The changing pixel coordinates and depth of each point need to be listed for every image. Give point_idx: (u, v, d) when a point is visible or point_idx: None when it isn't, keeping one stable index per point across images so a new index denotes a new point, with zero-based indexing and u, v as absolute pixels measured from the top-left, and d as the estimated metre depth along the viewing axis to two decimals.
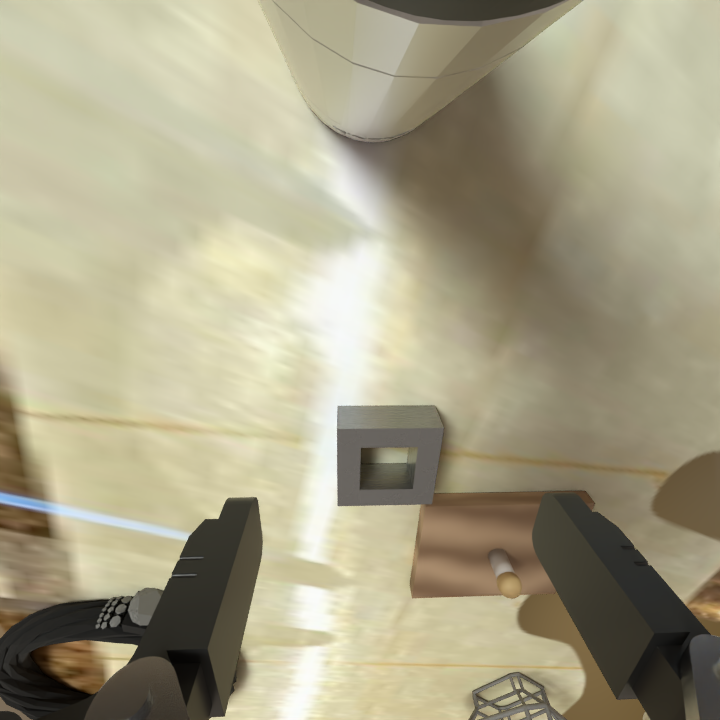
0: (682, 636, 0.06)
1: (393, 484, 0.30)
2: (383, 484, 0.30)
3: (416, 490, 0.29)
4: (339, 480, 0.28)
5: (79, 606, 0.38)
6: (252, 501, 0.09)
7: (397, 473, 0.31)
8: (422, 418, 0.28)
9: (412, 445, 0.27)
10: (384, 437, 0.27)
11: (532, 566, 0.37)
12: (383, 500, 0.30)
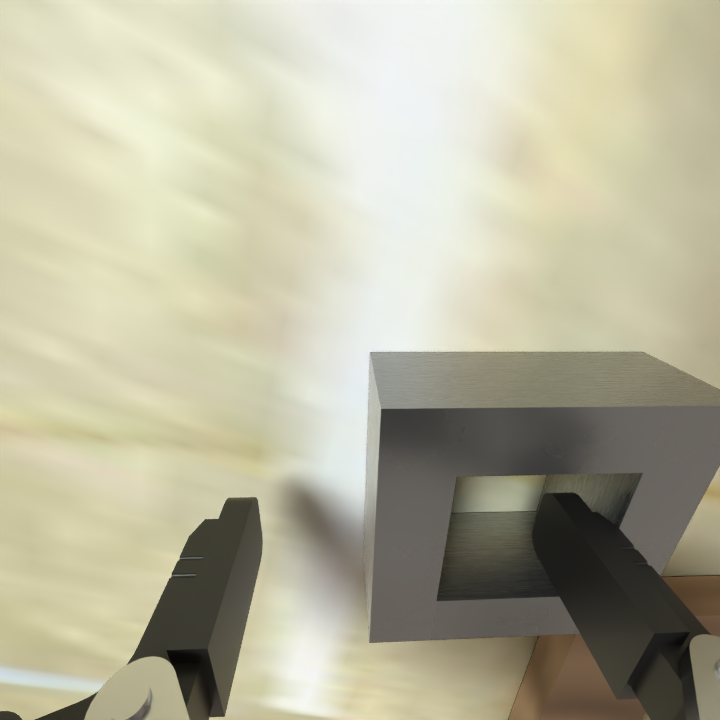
0: (683, 635, 0.06)
1: (528, 581, 0.10)
2: (499, 580, 0.10)
3: None
4: (378, 577, 0.09)
5: None
6: (252, 501, 0.09)
7: (524, 540, 0.12)
8: (645, 381, 0.09)
9: (627, 467, 0.08)
10: (541, 440, 0.08)
11: None
12: (500, 626, 0.10)
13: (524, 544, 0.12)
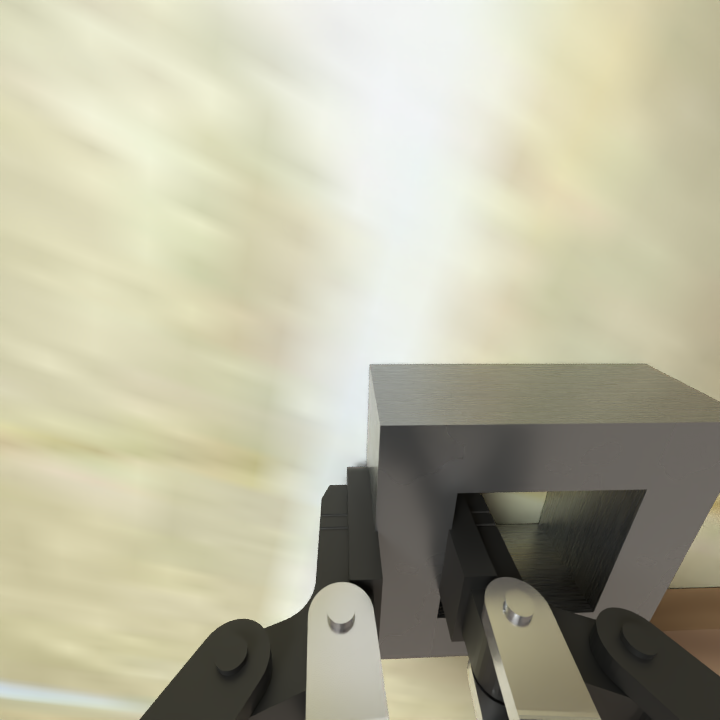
0: (491, 579, 0.07)
1: None
2: None
3: None
4: None
5: None
6: None
7: (525, 554, 0.11)
8: (649, 395, 0.08)
9: (631, 484, 0.08)
10: (544, 456, 0.08)
11: None
12: None
13: (526, 558, 0.11)
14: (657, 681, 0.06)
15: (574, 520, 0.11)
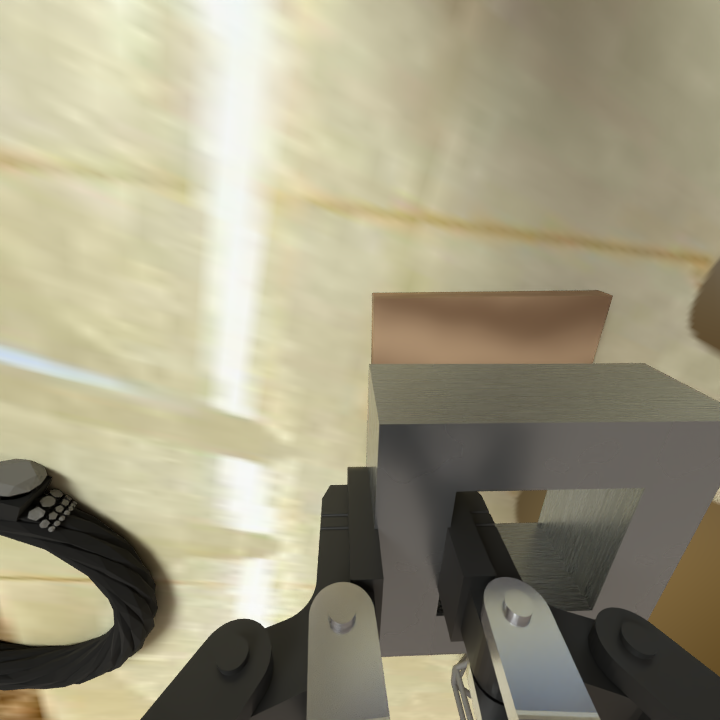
0: (490, 579, 0.07)
1: None
2: None
3: None
4: None
5: None
6: None
7: (525, 553, 0.12)
8: (647, 394, 0.09)
9: (628, 482, 0.08)
10: (542, 455, 0.08)
11: None
12: None
13: (525, 557, 0.11)
14: (656, 681, 0.06)
15: (573, 519, 0.11)
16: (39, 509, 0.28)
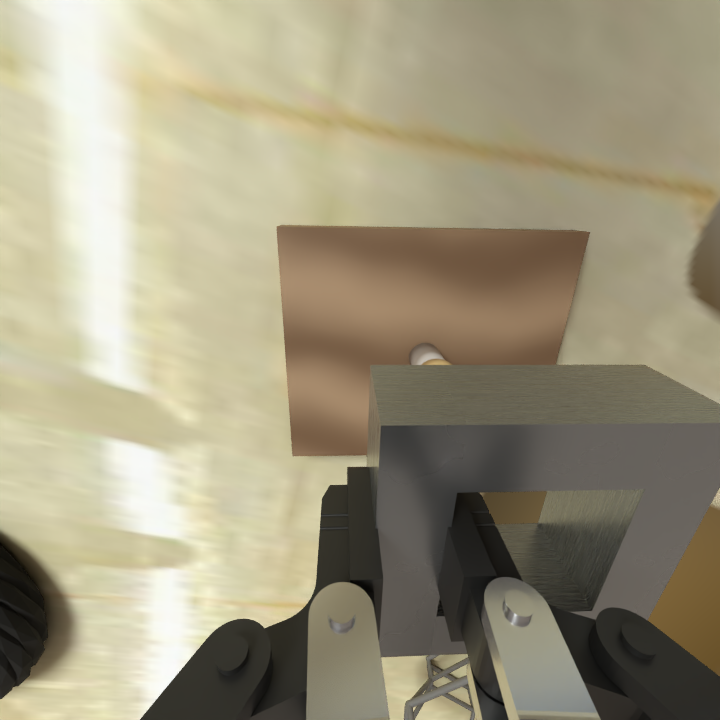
0: (491, 579, 0.07)
1: None
2: None
3: None
4: None
5: None
6: None
7: (524, 554, 0.12)
8: (647, 396, 0.09)
9: (629, 484, 0.08)
10: (542, 457, 0.08)
11: None
12: None
13: (525, 557, 0.11)
14: (656, 681, 0.06)
15: (573, 520, 0.11)
16: None
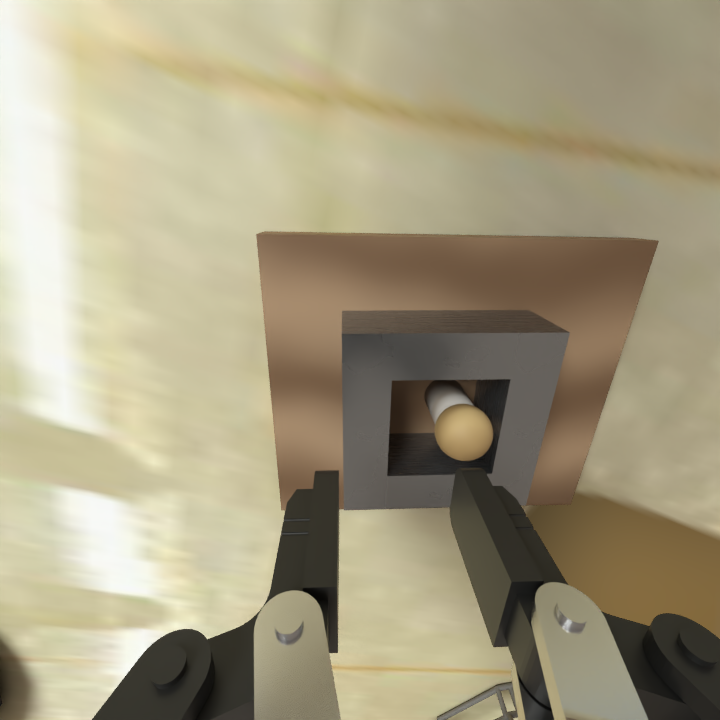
0: (538, 584, 0.07)
1: (452, 466, 0.15)
2: (432, 466, 0.15)
3: (497, 477, 0.15)
4: (347, 455, 0.14)
5: None
6: (338, 473, 0.10)
7: None
8: (515, 323, 0.13)
9: (499, 375, 0.13)
10: (442, 355, 0.13)
11: None
12: (433, 498, 0.15)
13: None
14: None
15: None
16: None
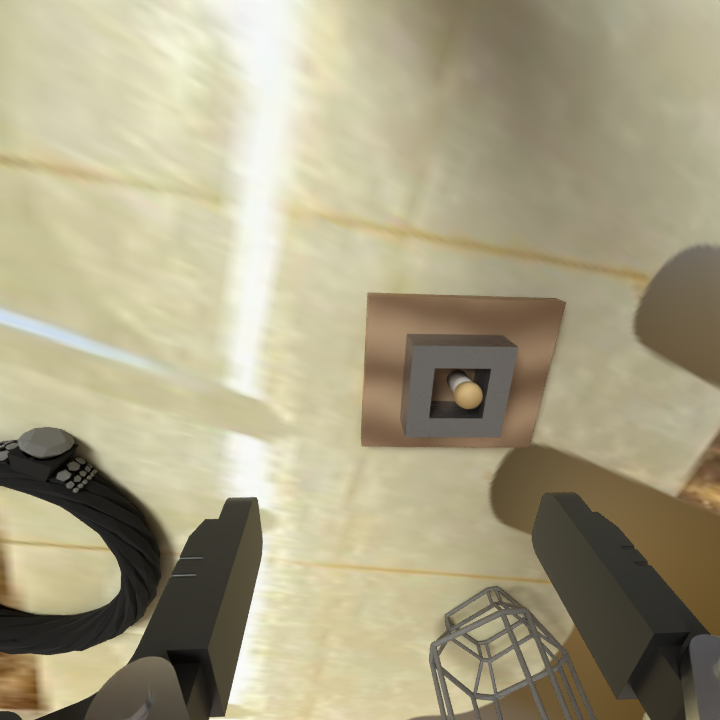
0: (683, 636, 0.06)
1: (461, 415, 0.29)
2: (451, 415, 0.29)
3: (485, 420, 0.29)
4: (409, 406, 0.28)
5: None
6: (252, 501, 0.09)
7: None
8: (493, 341, 0.28)
9: (485, 366, 0.27)
10: (459, 356, 0.27)
11: None
12: (451, 431, 0.29)
13: (462, 408, 0.30)
14: None
15: None
16: (66, 472, 0.32)
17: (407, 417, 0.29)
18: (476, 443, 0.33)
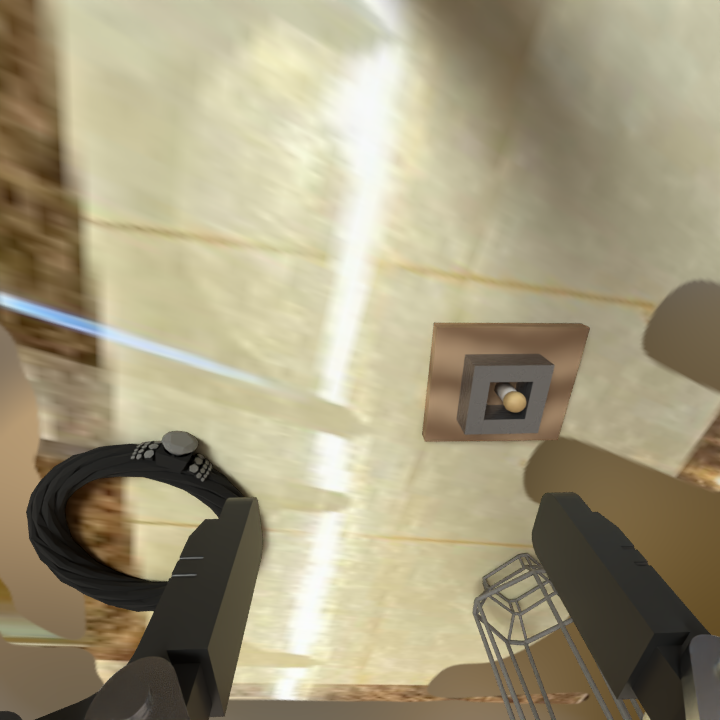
0: (682, 636, 0.06)
1: (508, 416, 0.38)
2: (500, 416, 0.38)
3: (527, 420, 0.37)
4: (469, 411, 0.37)
5: (115, 446, 0.41)
6: (252, 501, 0.09)
7: (507, 410, 0.39)
8: (534, 360, 0.36)
9: (529, 380, 0.35)
10: (509, 373, 0.35)
11: None
12: (500, 429, 0.38)
13: (507, 410, 0.39)
14: None
15: None
16: (195, 465, 0.40)
17: (467, 419, 0.37)
18: (515, 437, 0.42)
